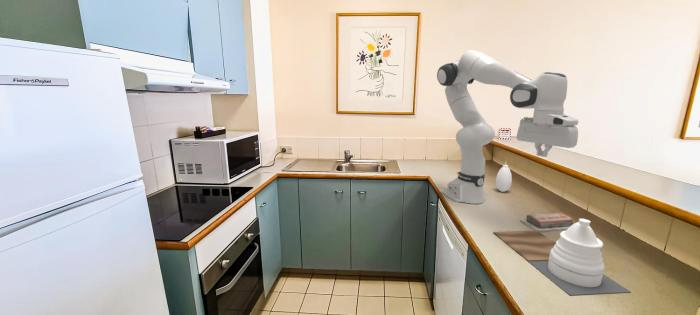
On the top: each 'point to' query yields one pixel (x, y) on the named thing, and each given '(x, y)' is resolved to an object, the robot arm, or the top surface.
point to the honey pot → (578, 256)
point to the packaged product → (548, 221)
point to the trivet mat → (572, 289)
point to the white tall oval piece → (504, 179)
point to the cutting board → (528, 244)
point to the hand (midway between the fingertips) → (541, 156)
